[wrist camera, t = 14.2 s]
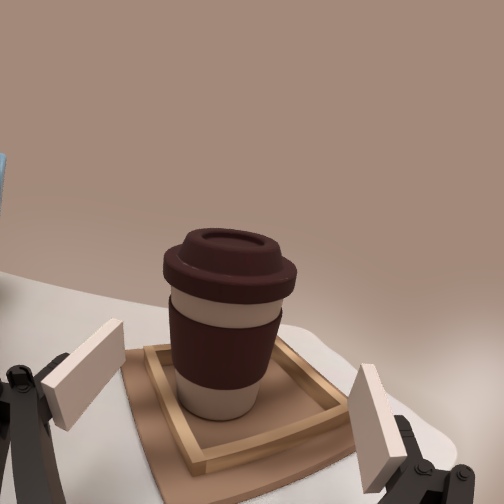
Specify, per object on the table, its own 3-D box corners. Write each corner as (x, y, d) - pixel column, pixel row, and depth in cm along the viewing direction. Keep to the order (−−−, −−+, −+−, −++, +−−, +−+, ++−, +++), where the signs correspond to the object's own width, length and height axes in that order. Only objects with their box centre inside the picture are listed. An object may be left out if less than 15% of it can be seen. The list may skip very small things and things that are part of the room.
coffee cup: (236, 358, 33) (254, 224, 29) (290, 413, 25) (329, 255, 21) (149, 374, 28) (150, 222, 24) (187, 447, 20) (196, 261, 16)
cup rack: (119, 361, 31) (116, 335, 30) (271, 341, 41) (276, 318, 40) (171, 519, 14) (168, 499, 13) (378, 437, 24) (392, 412, 23)
